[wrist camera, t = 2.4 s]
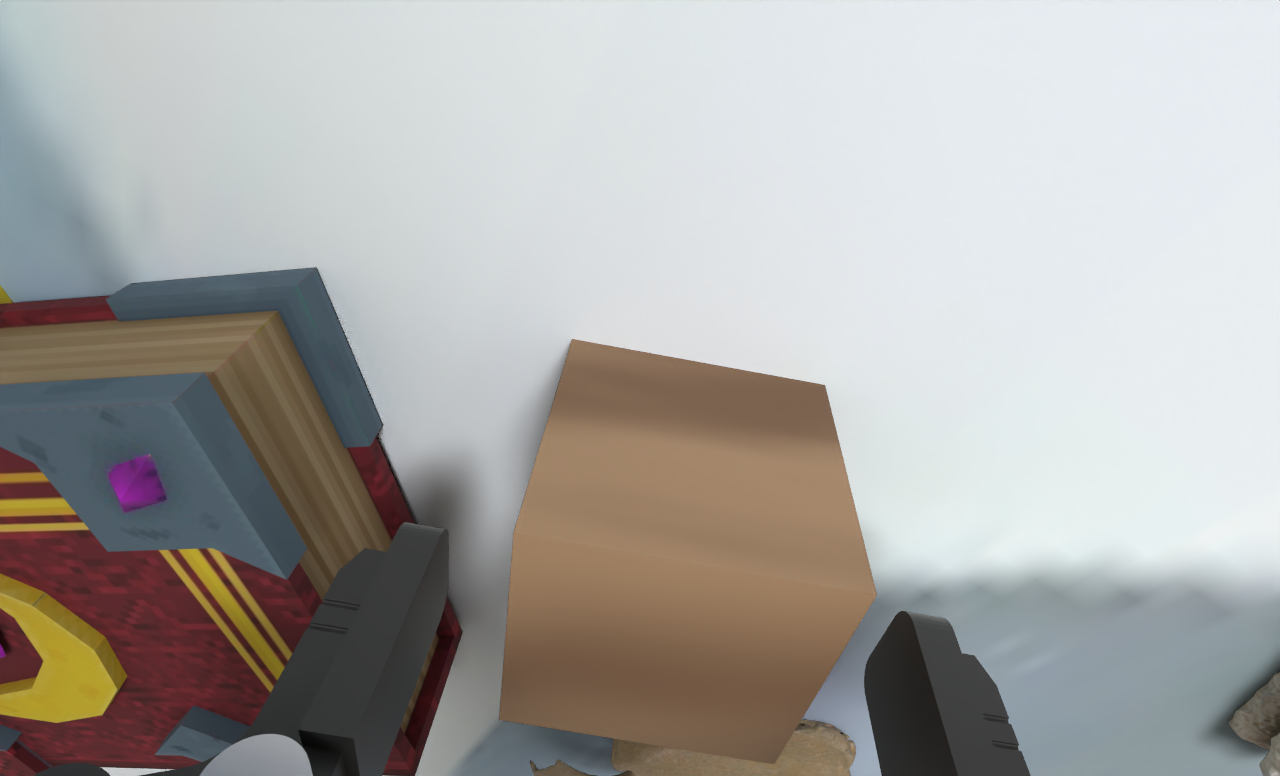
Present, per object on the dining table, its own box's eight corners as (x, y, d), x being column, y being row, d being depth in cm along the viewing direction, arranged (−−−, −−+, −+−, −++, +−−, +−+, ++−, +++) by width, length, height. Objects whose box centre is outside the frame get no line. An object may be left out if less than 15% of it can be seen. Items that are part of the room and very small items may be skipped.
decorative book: (476, 622, 19) (415, 815, 15) (-12, 623, 21) (-180, 792, 17) (322, 253, 13) (142, 419, 9) (-360, 308, 15) (-761, 462, 11)
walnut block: (572, 336, 13) (513, 533, 9) (824, 382, 13) (877, 595, 9) (551, 513, 16) (498, 719, 12) (757, 548, 16) (773, 764, 12)
